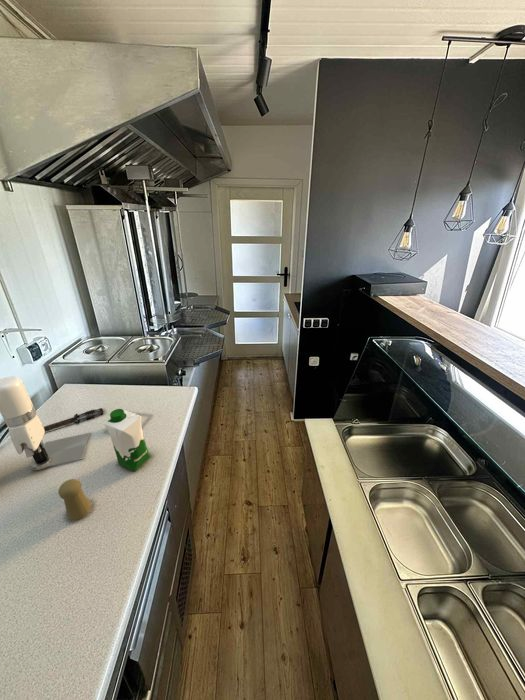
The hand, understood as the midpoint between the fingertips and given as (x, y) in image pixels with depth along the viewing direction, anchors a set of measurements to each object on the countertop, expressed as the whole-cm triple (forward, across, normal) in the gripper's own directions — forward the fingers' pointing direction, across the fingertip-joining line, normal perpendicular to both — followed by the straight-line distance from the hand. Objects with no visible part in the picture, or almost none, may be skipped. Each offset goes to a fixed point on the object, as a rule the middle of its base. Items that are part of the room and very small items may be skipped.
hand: (42, 459), depth 95 cm
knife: (+3, -21, +3) cm, 21 cm away
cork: (+3, +23, +15) cm, 27 cm away
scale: (+3, -4, +5) cm, 7 cm away
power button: (+2, 0, 0) cm, 2 cm away
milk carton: (+3, +9, +29) cm, 30 cm away
